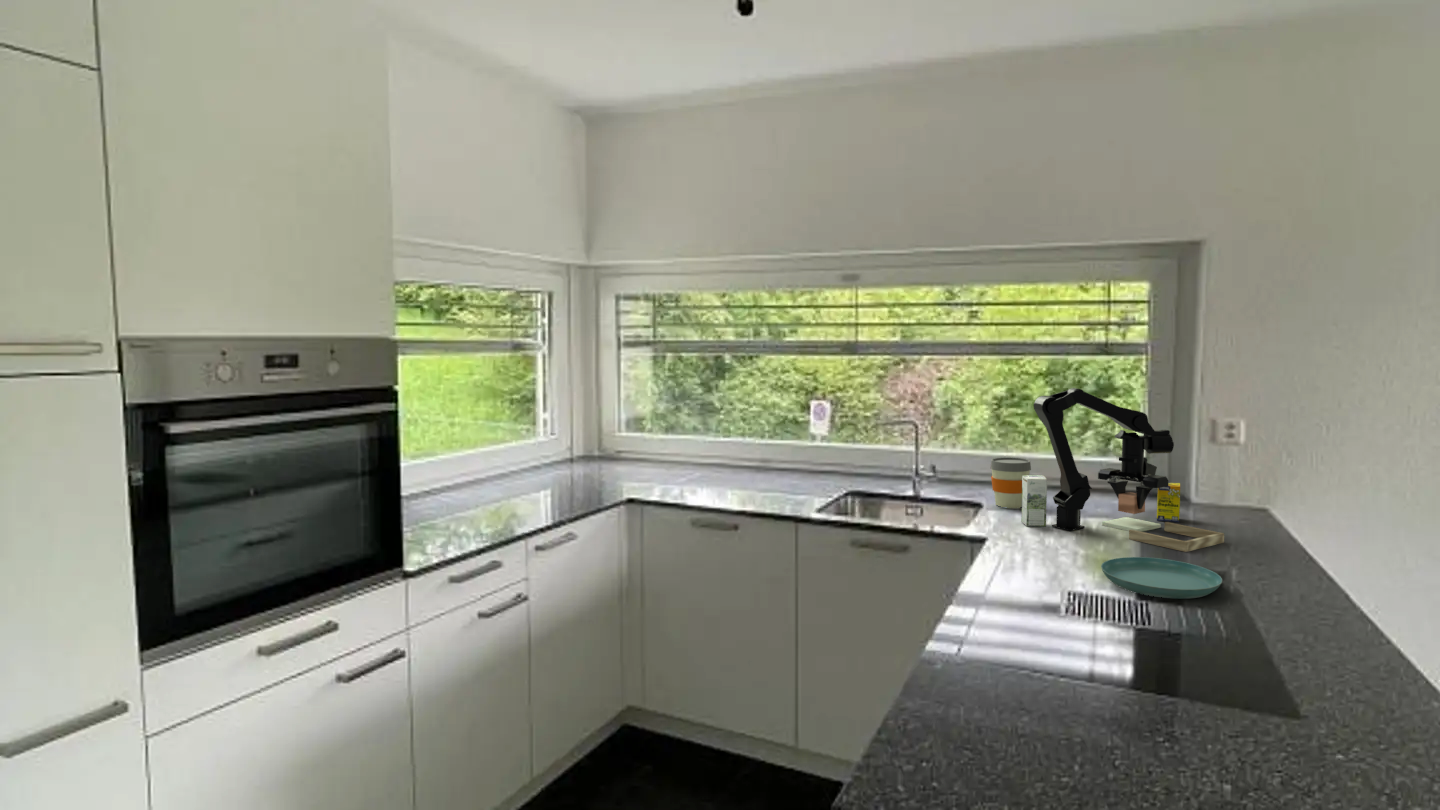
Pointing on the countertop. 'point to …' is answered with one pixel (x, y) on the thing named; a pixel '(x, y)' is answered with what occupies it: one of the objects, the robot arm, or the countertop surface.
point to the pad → (1131, 524)
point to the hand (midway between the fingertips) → (1131, 507)
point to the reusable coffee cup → (1009, 480)
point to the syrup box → (1034, 500)
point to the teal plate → (1161, 577)
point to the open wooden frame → (1201, 541)
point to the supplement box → (1168, 503)
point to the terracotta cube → (1129, 503)
